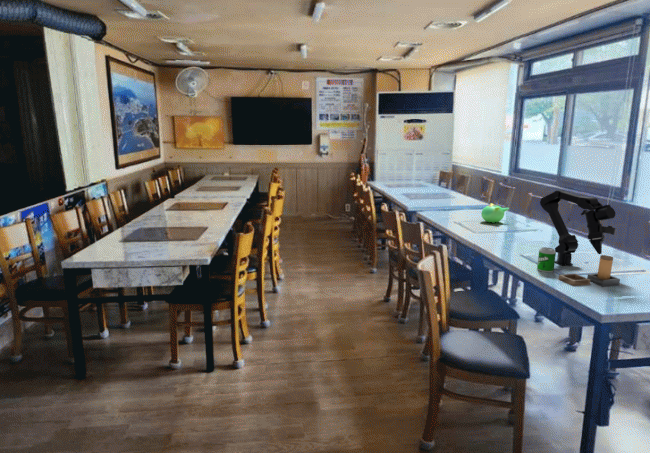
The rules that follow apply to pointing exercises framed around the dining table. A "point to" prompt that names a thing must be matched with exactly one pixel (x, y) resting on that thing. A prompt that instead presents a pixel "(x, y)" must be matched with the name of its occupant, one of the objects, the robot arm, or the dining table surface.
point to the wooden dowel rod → (605, 267)
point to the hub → (604, 281)
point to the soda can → (546, 259)
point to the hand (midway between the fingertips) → (599, 253)
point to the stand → (574, 279)
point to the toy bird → (493, 213)
